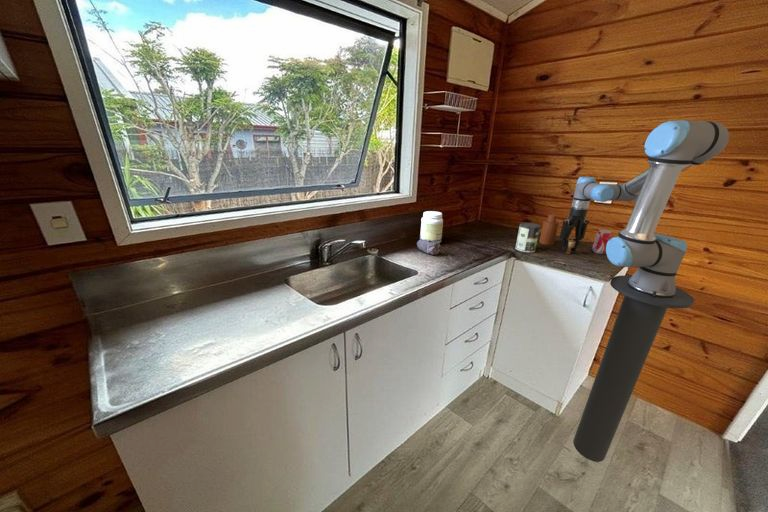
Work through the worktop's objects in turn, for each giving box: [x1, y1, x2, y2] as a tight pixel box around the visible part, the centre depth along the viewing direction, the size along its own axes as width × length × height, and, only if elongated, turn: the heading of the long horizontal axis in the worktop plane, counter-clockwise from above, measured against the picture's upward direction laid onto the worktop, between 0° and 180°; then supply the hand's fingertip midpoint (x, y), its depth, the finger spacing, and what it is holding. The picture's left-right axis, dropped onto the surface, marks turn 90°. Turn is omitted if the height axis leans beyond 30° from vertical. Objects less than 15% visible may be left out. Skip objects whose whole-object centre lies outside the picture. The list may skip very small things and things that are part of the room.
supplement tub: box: [419, 210, 444, 244], centre depth 172 cm, size 12×12×17 cm
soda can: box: [591, 229, 613, 255], centre depth 163 cm, size 7×7×12 cm
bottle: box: [538, 213, 560, 246], centre depth 176 cm, size 8×8×17 cm
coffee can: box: [514, 221, 542, 254], centre depth 164 cm, size 10×10×14 cm
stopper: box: [564, 239, 576, 255], centre depth 161 cm, size 5×5×7 cm
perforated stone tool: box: [416, 239, 441, 256], centre depth 157 cm, size 15×5×7 cm, turn 36°
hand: (568, 251), depth 162 cm, fingers open, 5 cm apart
